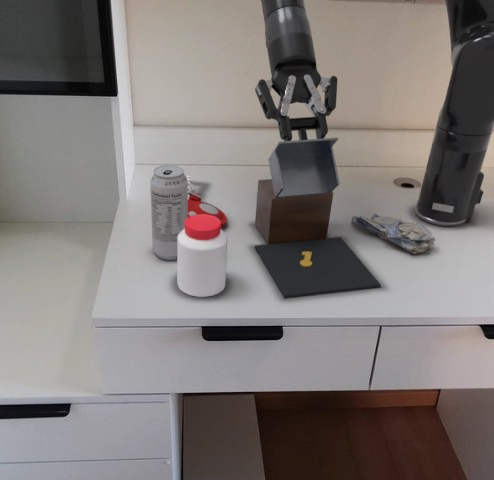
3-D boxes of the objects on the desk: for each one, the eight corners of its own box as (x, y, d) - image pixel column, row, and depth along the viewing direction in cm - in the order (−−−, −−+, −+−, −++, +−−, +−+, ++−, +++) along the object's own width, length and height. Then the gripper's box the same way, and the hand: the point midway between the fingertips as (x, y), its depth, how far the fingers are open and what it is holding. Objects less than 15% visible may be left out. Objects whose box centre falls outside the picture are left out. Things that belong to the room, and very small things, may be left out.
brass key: (298, 264, 102) (298, 266, 102) (311, 266, 101) (311, 268, 101) (302, 250, 105) (302, 252, 106) (315, 252, 105) (314, 254, 105)
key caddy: (263, 133, 105) (273, 114, 99) (318, 129, 107) (332, 110, 101) (274, 198, 103) (286, 182, 97) (330, 193, 105) (345, 177, 98)
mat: (254, 247, 108) (254, 245, 108) (340, 239, 110) (340, 236, 110) (284, 298, 95) (284, 295, 95) (380, 287, 98) (380, 284, 97)
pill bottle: (235, 283, 98) (239, 222, 92) (201, 303, 94) (203, 239, 88) (201, 265, 103) (202, 205, 96) (167, 283, 98) (166, 221, 92)
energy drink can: (192, 247, 108) (193, 166, 99) (179, 264, 103) (179, 180, 95) (161, 241, 110) (159, 161, 101) (147, 257, 105) (143, 175, 96)
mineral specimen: (440, 250, 107) (446, 229, 105) (403, 261, 104) (409, 239, 102) (382, 216, 118) (386, 196, 116) (348, 225, 115) (351, 205, 113)
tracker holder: (239, 217, 115) (202, 222, 108) (230, 237, 117) (194, 243, 110) (197, 183, 121) (160, 186, 114) (190, 203, 123) (153, 206, 116)
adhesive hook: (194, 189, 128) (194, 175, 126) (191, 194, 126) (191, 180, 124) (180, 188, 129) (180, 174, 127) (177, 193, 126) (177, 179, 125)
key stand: (254, 225, 115) (258, 179, 110) (310, 219, 117) (316, 175, 111) (267, 245, 108) (271, 198, 103) (326, 239, 110) (333, 193, 105)
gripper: (253, 32, 98) (269, 132, 96) (338, 28, 100) (355, 127, 98) (242, 58, 105) (257, 152, 103) (322, 54, 107) (337, 146, 105)
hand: (305, 139), depth 100 cm, fingers closed on key caddy, 5 cm apart
